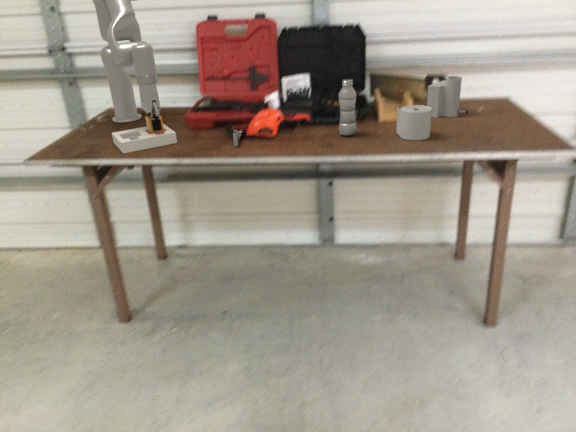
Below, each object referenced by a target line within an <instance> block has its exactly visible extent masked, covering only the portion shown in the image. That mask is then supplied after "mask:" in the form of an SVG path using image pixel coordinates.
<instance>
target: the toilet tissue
mask: <svg viewBox="0 0 576 432" xmlns="http://www.w3.org/2000/svg"><path fill="white" fill-rule="evenodd" d="M431 112H432V108H431V107H428V106H427V105H424V104H420V105H419V104H413V105H411V104H410V105H404V106H401V107H400V108H399V107H398V106H396V132H395V133H396V134H397V135H398V136H399V138H401V139H403V140H406V141H423V140H427V139H430V136H431V126H432V125H431V123H432V117H431Z"/></svg>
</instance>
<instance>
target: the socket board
mask: <svg viewBox="0 0 576 432" xmlns="http://www.w3.org/2000/svg"><path fill="white" fill-rule="evenodd" d="M163 127H164V131H160V132H155V133H153V134H148V130H147V125H146V126H143V127H142V126H141V127H136V128H132V129H130V128H129V129H125V130H121V131H114V132H111V137H112V140H113V144H114V145H115V146H116V148H118V150H119V151H120V152H121V153H122V154H129V153H135V152H139V151H140V152H141V151H144V150H148V149H153V148H159V147H163V146H168V145H173V144H178V140H177V139H178V137H177V133H176V132H175V131H174V130H173V129H172V128H170V127H168V126H167V125H166V124H164V123H163Z"/></svg>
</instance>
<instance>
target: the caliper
mask: <svg viewBox="0 0 576 432" xmlns="http://www.w3.org/2000/svg"><path fill="white" fill-rule="evenodd" d="M232 132H233V133H232V138H233V147H234V148H238V146H239V139H240V138H241V136H242V135H241V133H242V131H241V130H239V131H238V130H237V129H233V131H232Z"/></svg>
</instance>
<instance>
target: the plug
mask: <svg viewBox="0 0 576 432" xmlns="http://www.w3.org/2000/svg"><path fill="white" fill-rule="evenodd" d="M153 116H154V115H153ZM144 118H145V123H146V126H147V130H148V134H153V133H155V132H160V131H164V127H163V124H164V122H163V121H164V120H163V116H162V115H160V120H161V126H162V130H157V131H154V130H153V126H152V121H151V120H152V117H151V115H150V116H147V115H146V116H144Z"/></svg>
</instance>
